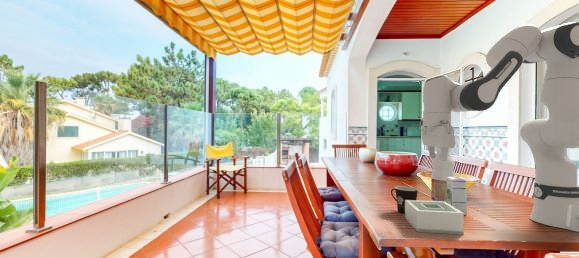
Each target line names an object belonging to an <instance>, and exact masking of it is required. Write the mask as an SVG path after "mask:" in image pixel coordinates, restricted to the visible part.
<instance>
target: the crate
mask: <svg viewBox="0 0 579 258" xmlns="http://www.w3.org/2000/svg"><path fill="white" fill-rule="evenodd" d="M419 203H428V204H439V205H440V206H442V207H443V208H445V211H430V210H419ZM464 217H465V215H464V213H463V212H461V211H459V210H458V209H456V208H455V207H453V206H451V205H450V204H448V203H446V202H442V201H431V200H419V199H417V200H405V215H404V219H405V220H406V221H407V222H408V223H409V225H411V227H412V228H413V229H414V230H415V231H416V232H417V233H431V234H433V233H434V234H447V235H448V234H449V235H465V234H464V233H465V231H464V228H465V225H464V221H465V219H464Z"/></svg>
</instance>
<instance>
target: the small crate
mask: <svg viewBox="0 0 579 258" xmlns="http://www.w3.org/2000/svg"><path fill="white" fill-rule="evenodd" d="M419 210H430V211H445V208H443V207H442V206H440V205H439V204H428V203H419Z"/></svg>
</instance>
